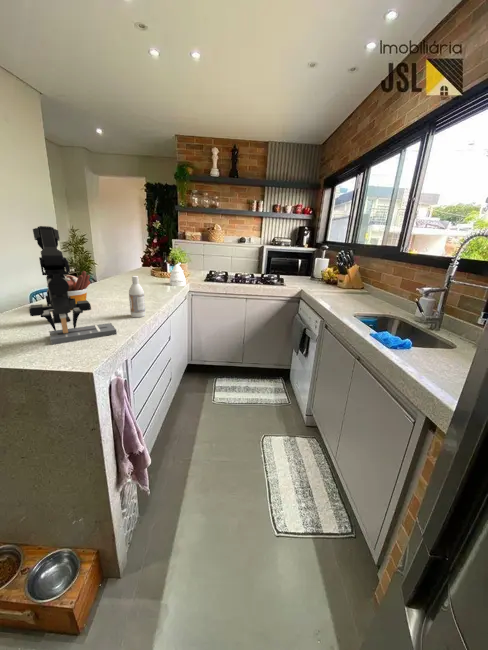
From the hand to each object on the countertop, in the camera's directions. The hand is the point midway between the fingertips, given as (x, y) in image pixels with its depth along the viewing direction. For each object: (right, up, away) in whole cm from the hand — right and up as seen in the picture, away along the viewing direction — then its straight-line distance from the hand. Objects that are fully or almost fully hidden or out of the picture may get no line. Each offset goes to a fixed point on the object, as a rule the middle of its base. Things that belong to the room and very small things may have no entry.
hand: (65, 329), depth 102 cm
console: (+5, -2, +5) cm, 7 cm away
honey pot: (+14, +35, +118) cm, 124 cm away
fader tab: (0, -1, 0) cm, 1 cm away
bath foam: (+15, +6, +32) cm, 36 cm away
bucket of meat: (-23, +11, +40) cm, 48 cm away
